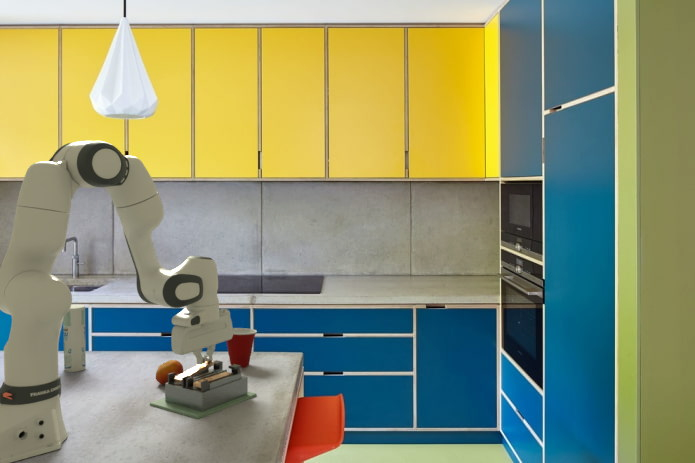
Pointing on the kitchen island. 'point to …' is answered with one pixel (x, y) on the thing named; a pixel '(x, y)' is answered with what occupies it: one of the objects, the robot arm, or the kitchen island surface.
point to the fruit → (168, 370)
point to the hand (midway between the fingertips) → (204, 362)
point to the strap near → (212, 378)
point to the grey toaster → (206, 388)
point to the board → (195, 413)
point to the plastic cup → (241, 346)
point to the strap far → (194, 371)
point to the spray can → (74, 339)
